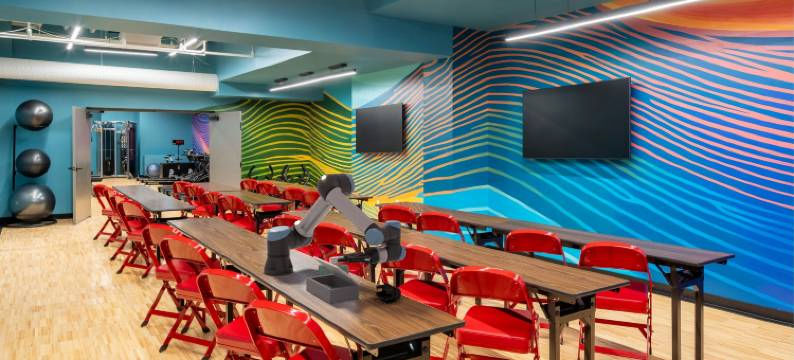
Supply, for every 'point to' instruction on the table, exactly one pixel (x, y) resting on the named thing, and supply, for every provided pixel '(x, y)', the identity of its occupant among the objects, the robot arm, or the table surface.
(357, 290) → the grey tray
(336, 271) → the cover
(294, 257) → the table surface
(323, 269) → the box
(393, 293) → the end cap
